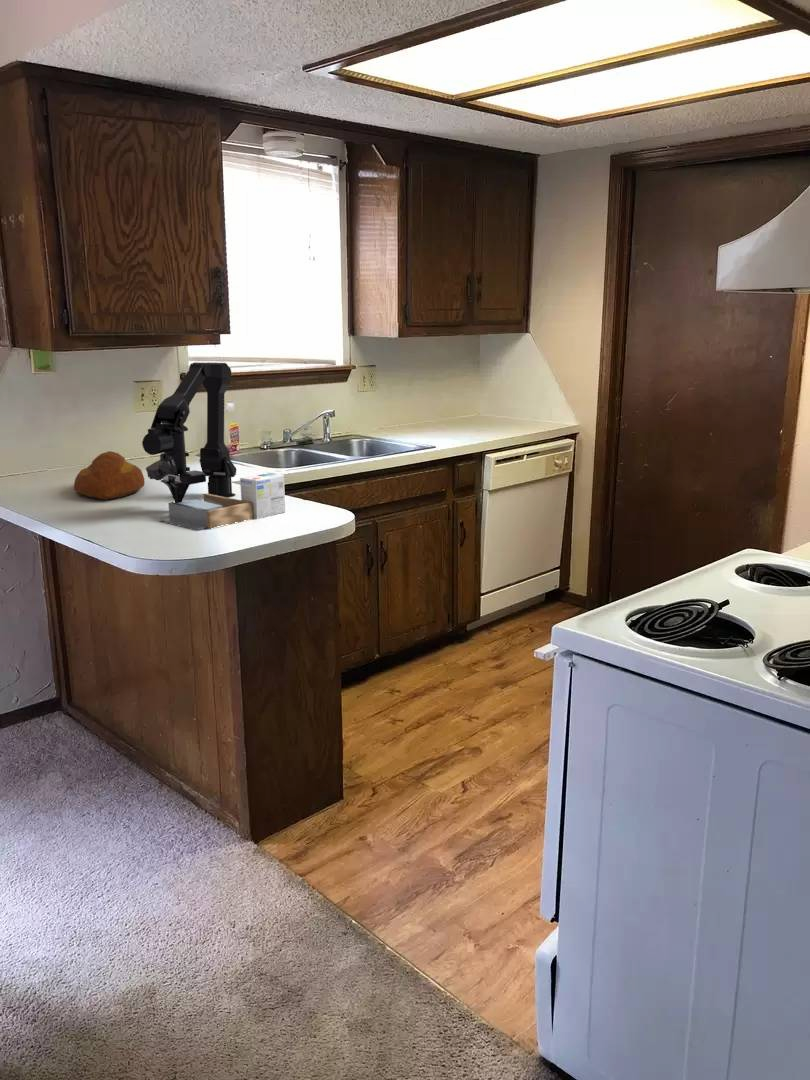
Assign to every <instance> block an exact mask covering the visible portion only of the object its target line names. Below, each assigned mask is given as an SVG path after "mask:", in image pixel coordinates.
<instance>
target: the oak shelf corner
mask: <svg viewBox="0 0 810 1080" xmlns="http://www.w3.org/2000/svg"><path fill="white" fill-rule="evenodd" d="M202 495H203V501H205V502H209V503H213V504H217V505H221V506H222V508H220V509H215V510H210V511H207V526H208V528H213V529H215V528H214V527H217V526H221V525H226V524H230V525H233V524H232V523H234V524H236V523H235V522H238V523H241V522H240V521H242V522H245V521H244V520H247V521H249V520H248V519H251V520H254V518H253V503H252V502H247V501H242V500H241V499H237V498H231V497H222V496H217V495H212V494H208V492H207V493H203V494H202ZM226 526H227V525H226ZM221 527H222V526H221ZM208 528H207V529H208ZM217 528H218V527H217Z"/></svg>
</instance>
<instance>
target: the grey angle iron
mask: <svg viewBox="0 0 810 1080" xmlns="http://www.w3.org/2000/svg"><path fill="white" fill-rule="evenodd" d="M167 504H168V513H169V514H168V516H169V517H163V518H160V519H159V522H161V521H163V522H162V523H165V522H167V523H166V524H169V523H172V524H171V525H173V524H176V525H175V526H177V525H180V526H179V527H182V526H184V527H183V528H186V527H188V528H187V529H190V528H192V529H191V530H194V529H196V530H195V531H198V530H199V531H201V530H200V529H203V530H205V529H204V528H207V529H208V526H207V511H210V510H206V509H201V508H197V507H192V506H187V505H183V504H178V503H175V501H174V502H173V501H171V502H168V503H167Z"/></svg>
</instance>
